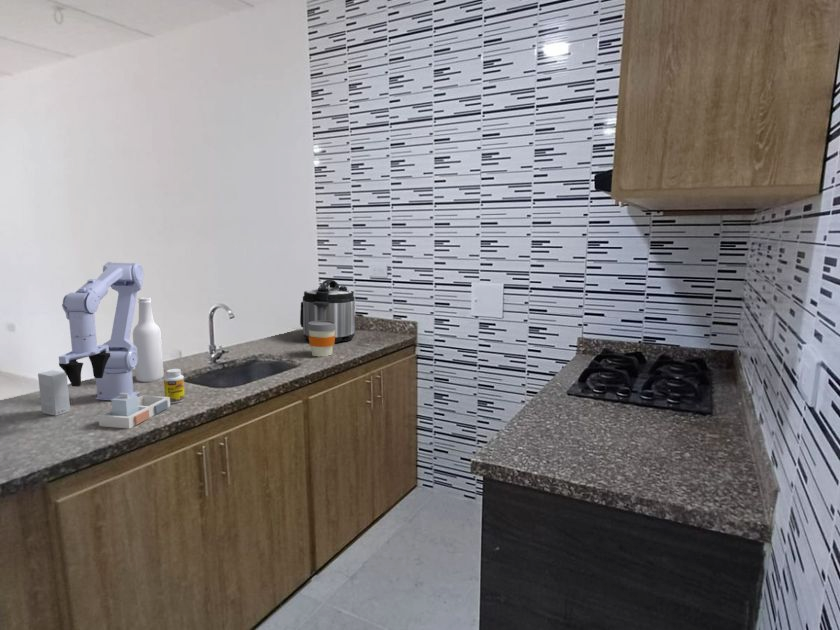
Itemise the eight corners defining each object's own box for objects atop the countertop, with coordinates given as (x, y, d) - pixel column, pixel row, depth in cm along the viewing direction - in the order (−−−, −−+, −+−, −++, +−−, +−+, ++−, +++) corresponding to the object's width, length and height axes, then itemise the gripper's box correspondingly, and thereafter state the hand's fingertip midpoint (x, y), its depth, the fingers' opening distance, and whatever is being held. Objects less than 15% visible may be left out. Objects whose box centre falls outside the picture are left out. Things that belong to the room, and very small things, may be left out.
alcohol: (133, 383, 159) (126, 299, 154) (139, 376, 168) (133, 296, 163) (161, 381, 162) (155, 299, 157) (166, 374, 170) (161, 296, 166)
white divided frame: (99, 426, 123) (98, 415, 123) (143, 404, 140) (142, 395, 140) (131, 428, 122) (130, 418, 122) (172, 406, 139) (171, 397, 139)
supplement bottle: (166, 405, 140) (164, 373, 138) (164, 399, 145) (162, 369, 143) (186, 402, 143) (184, 371, 141) (183, 397, 148) (182, 367, 146)
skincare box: (71, 411, 133) (67, 372, 131) (55, 416, 129) (51, 376, 127) (57, 408, 135) (53, 369, 133) (41, 413, 131) (36, 373, 129)
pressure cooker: (332, 331, 261) (332, 276, 256) (367, 338, 243) (368, 280, 238) (288, 338, 237) (287, 278, 232) (323, 347, 220) (323, 283, 215)
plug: (113, 423, 126) (110, 395, 124) (125, 417, 130) (123, 390, 129) (127, 424, 125) (125, 396, 124) (139, 418, 129) (137, 391, 128)
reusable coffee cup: (327, 359, 199) (327, 326, 197) (302, 356, 203) (302, 323, 200) (340, 353, 211) (340, 321, 208) (317, 350, 215) (317, 319, 212)
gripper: (74, 341, 118) (78, 390, 120) (116, 331, 132) (120, 375, 135) (49, 340, 119) (54, 389, 121) (94, 329, 133) (98, 373, 135)
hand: (87, 381), depth 128 cm, fingers open, 7 cm apart
